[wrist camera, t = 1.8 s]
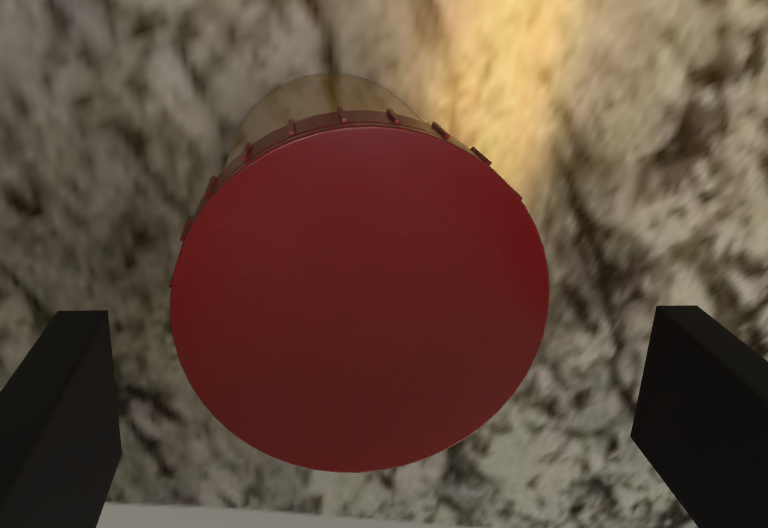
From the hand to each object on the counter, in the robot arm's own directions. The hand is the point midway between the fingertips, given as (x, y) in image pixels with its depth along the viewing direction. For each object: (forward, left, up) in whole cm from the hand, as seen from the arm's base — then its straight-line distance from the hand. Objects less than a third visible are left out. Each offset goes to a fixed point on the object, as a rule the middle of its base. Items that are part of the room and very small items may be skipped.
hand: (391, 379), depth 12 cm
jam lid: (0, 0, -3) cm, 3 cm away
